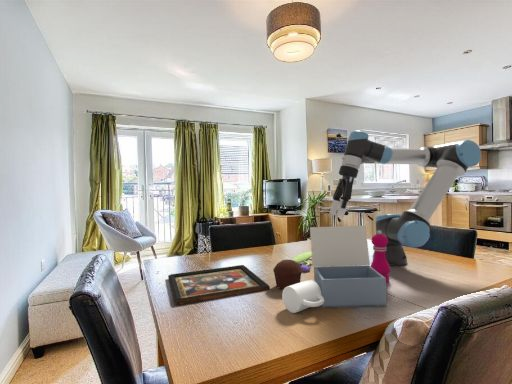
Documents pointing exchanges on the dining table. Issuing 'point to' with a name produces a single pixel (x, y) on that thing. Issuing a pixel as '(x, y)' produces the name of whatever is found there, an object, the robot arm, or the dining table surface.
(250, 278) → the framed painting
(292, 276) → the muffin
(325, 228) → the lid
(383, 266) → the pepper mill
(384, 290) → the box
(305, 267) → the figurine
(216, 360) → the dining table surface
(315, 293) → the mug
